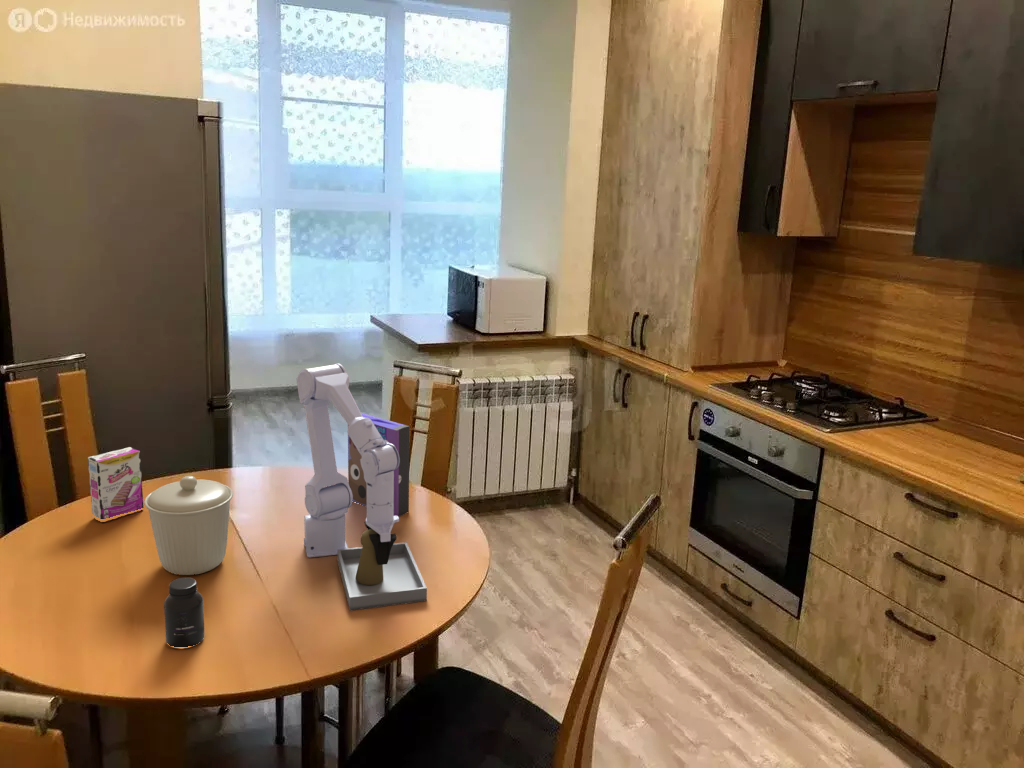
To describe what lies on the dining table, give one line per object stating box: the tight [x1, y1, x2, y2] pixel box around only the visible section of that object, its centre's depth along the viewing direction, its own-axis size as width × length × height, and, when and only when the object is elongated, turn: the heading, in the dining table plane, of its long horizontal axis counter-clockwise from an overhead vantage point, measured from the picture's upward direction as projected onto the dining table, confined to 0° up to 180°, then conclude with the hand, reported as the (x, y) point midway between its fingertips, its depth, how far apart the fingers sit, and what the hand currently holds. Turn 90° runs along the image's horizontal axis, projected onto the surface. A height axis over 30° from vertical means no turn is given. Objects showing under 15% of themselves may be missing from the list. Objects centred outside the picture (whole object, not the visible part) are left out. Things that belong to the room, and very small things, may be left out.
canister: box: [143, 475, 234, 576], centre depth 179 cm, size 18×18×21 cm
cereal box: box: [347, 412, 410, 518], centre depth 214 cm, size 17×5×24 cm, turn 55°
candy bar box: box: [87, 446, 144, 519], centre depth 203 cm, size 11×5×16 cm, turn 144°
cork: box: [356, 529, 383, 585], centre depth 176 cm, size 6×6×11 cm
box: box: [336, 542, 428, 612], centre depth 178 cm, size 16×22×3 cm
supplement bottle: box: [163, 576, 206, 647], centre depth 152 cm, size 7×7×12 cm
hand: (380, 557), depth 177 cm, fingers closed on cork, 5 cm apart
